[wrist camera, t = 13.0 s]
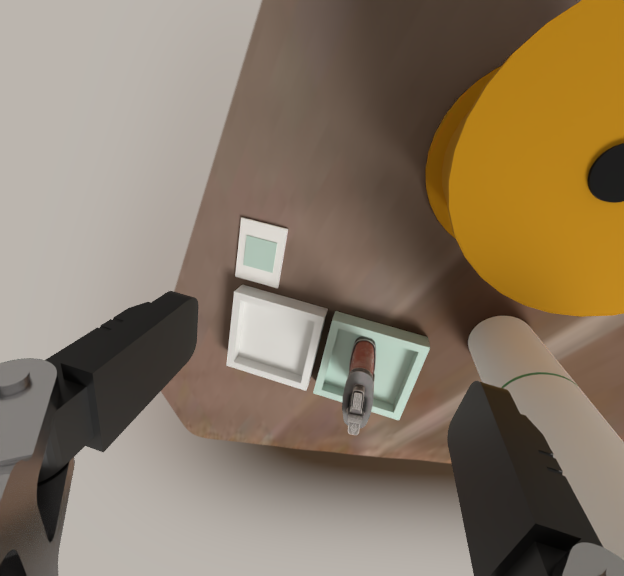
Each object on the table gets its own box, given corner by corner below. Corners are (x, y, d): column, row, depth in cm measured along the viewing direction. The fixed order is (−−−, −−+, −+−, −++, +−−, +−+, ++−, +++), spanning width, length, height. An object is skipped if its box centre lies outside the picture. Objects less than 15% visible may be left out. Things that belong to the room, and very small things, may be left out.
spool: (645, 18, 26) (927, -130, 12) (629, 235, 32) (809, 296, 18) (413, 93, 31) (431, 46, 18) (436, 267, 37) (463, 332, 23)
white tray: (242, 284, 43) (234, 291, 41) (328, 308, 42) (324, 317, 40) (234, 355, 48) (226, 365, 46) (310, 379, 47) (306, 390, 45)
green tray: (335, 310, 42) (332, 319, 39) (427, 337, 40) (430, 348, 38) (316, 381, 47) (313, 393, 44) (398, 407, 45) (398, 420, 43)
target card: (242, 217, 40) (240, 217, 39) (288, 228, 39) (287, 229, 39) (236, 275, 43) (234, 276, 43) (278, 287, 42) (277, 288, 42)
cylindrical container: (469, 368, 41) (568, 635, 18) (466, 318, 38) (576, 553, 16) (533, 365, 39) (735, 661, 16) (535, 312, 36) (774, 573, 14)
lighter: (371, 388, 44) (367, 449, 35) (347, 384, 44) (336, 442, 35) (379, 338, 41) (376, 390, 32) (352, 334, 41) (342, 384, 32)
